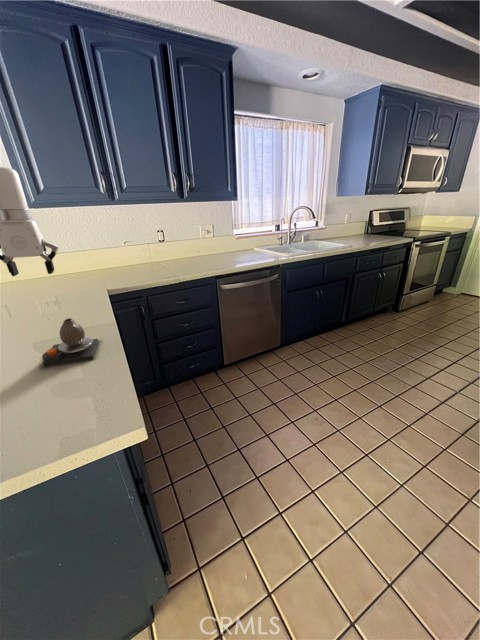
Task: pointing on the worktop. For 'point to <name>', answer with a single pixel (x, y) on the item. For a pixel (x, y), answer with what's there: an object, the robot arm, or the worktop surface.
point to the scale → (70, 355)
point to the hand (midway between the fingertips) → (33, 274)
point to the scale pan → (71, 349)
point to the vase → (71, 333)
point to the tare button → (52, 352)
